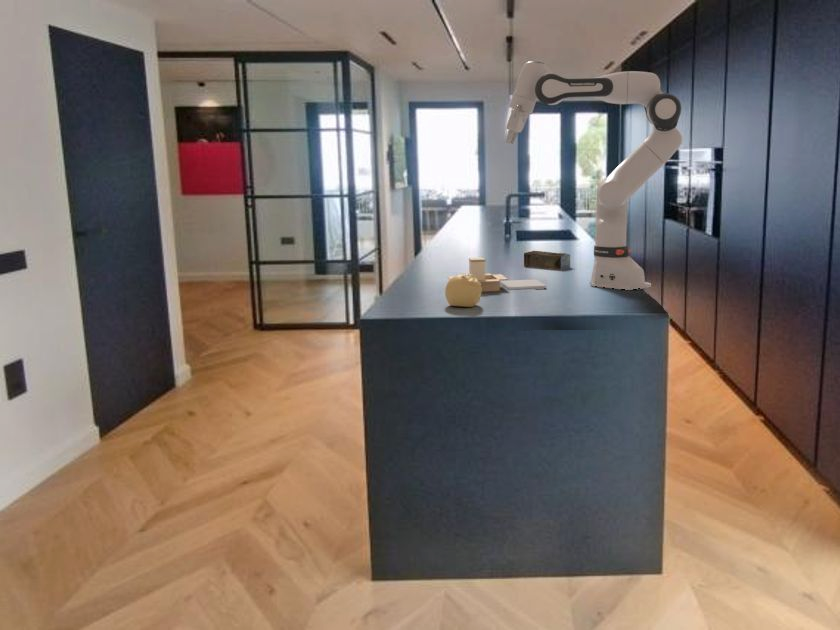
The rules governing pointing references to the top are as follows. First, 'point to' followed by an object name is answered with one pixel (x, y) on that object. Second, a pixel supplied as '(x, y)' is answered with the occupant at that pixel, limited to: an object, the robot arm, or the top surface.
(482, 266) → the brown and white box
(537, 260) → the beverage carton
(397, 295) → the top surface
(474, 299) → the sculpture
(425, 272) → the top surface
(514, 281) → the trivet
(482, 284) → the carton
